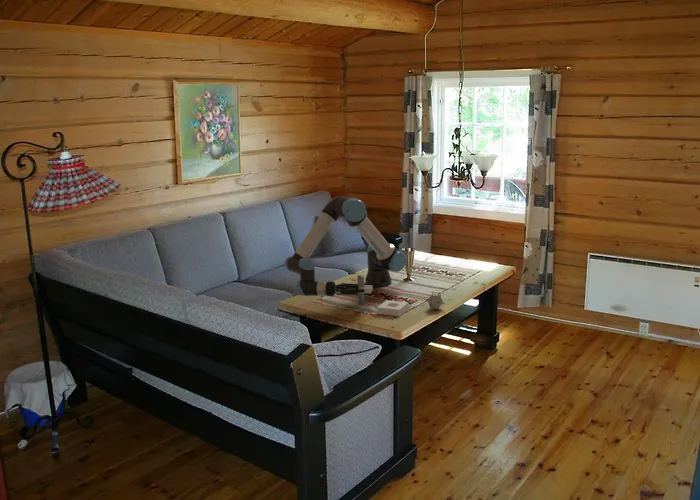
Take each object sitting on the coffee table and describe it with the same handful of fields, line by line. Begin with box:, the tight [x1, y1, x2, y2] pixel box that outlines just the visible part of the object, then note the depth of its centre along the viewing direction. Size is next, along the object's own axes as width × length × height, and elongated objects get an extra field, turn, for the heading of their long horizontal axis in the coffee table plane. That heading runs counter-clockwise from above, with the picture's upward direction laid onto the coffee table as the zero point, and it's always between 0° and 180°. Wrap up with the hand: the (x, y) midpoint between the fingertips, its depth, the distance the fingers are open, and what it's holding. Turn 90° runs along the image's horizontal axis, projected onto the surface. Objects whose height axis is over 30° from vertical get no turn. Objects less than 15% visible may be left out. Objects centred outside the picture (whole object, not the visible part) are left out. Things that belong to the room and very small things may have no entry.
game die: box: [425, 292, 445, 311], centre depth 343 cm, size 9×8×10 cm
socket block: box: [376, 300, 410, 317], centre depth 343 cm, size 12×12×4 cm
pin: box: [356, 274, 366, 306], centre depth 344 cm, size 3×3×15 cm
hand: (371, 289), depth 343 cm, fingers closed on pin, 3 cm apart
